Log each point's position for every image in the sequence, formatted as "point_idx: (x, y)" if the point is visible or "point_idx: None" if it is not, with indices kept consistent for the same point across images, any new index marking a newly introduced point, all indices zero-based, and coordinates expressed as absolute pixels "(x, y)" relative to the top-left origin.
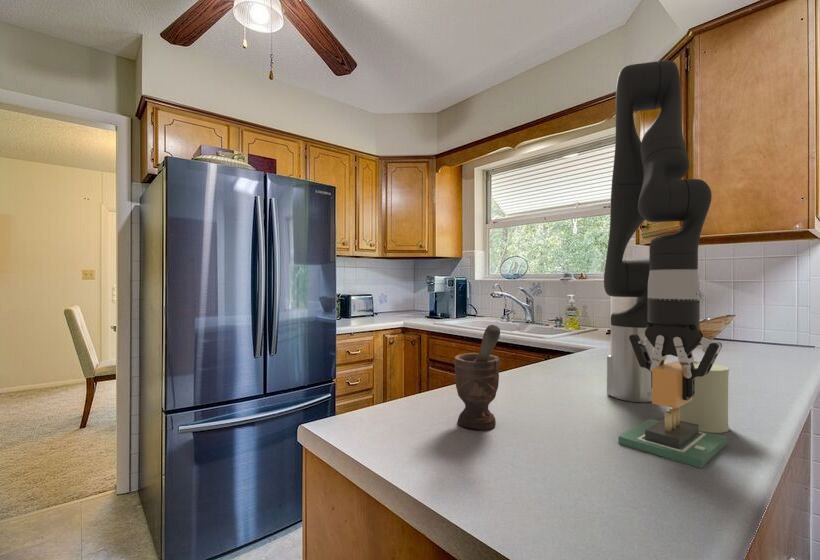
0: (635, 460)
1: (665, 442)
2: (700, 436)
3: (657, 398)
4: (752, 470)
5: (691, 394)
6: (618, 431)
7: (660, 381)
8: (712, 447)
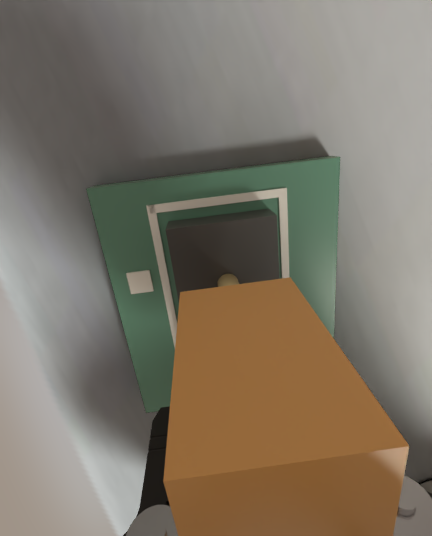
0: (230, 56)
1: (207, 218)
2: None
3: (272, 294)
4: (29, 289)
5: (156, 422)
6: (368, 256)
7: (285, 363)
8: (125, 316)
